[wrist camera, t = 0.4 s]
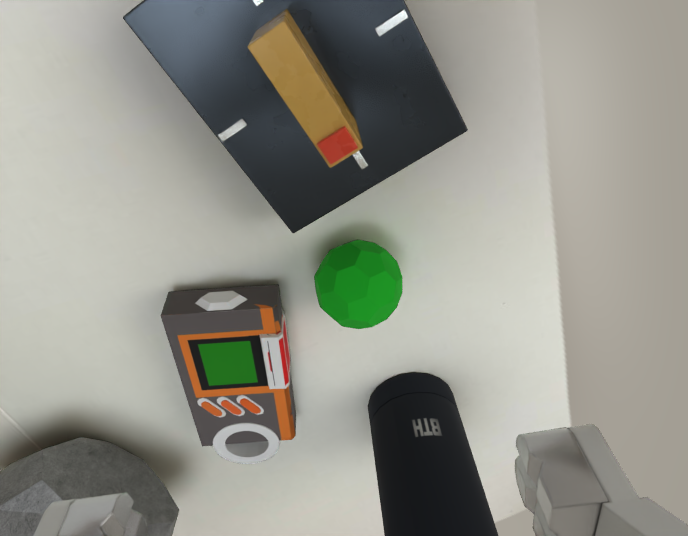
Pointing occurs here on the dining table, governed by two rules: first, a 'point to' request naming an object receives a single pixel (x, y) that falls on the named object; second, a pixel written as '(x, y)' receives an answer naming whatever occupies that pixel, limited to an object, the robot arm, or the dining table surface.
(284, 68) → the tap handle
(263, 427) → the electronic device
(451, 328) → the dining table surface
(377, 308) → the polyhedron
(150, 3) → the block
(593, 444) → the robot arm
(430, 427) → the insulated water bottle
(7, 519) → the potted plant
